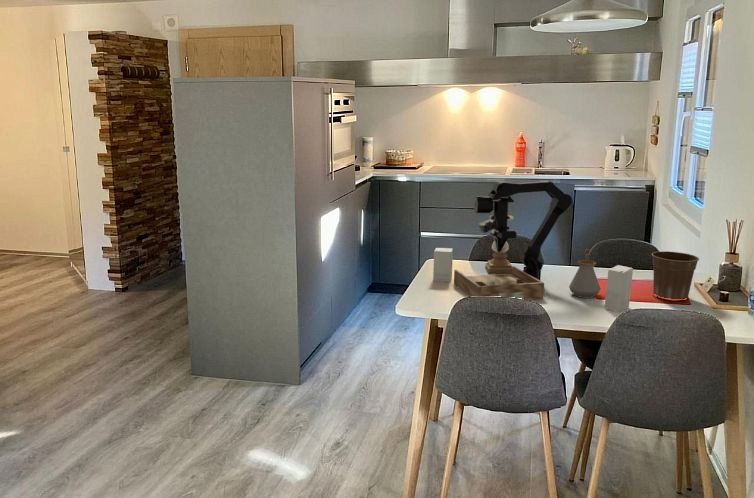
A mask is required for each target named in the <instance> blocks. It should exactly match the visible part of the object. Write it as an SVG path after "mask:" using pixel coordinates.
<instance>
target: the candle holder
mask: <svg viewBox="0 0 754 498" xmlns="http://www.w3.org/2000/svg"><path fill="white" fill-rule="evenodd" d="M492 215H493V214H491V215H489V219H491V216H492ZM508 216H510V219H508V222H509V221H513V220H514V218H515V217H514V216H513V215H509V214H508ZM507 241H508V240H507ZM507 241H506V243H505V244H504V246H503V248H502V250H501V252H498V251H497V248H496V244H495V240H494V241H493V242H492V244H491V250H492V251H494V252H493V253H492V257H493V258H492V259H490V260H486V261H487V262H486V263H485V264H484V268H485V270H486V272H487V273H488V274H494V275H496V274H512V263H511V262H510V261H509V260H508V259H507V257H508V254H507V251H508V250H509V249H510V245H509V243H508V242H507Z"/></svg>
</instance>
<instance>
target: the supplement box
mask: <svg viewBox="0 0 754 498" xmlns="http://www.w3.org/2000/svg"><path fill="white" fill-rule="evenodd" d="M453 252H454V248H451V247H450V248H449V247H435V248H434V251H433V268H432V269H433V271H432V272H433V273H432V275H433V276H432V281H433V282H443V283H445V282H447V283H451V281H452V278H453V256H454V255H453Z"/></svg>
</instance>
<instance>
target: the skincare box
mask: <svg viewBox="0 0 754 498" xmlns="http://www.w3.org/2000/svg"><path fill="white" fill-rule="evenodd" d="M633 272H634V268H632V267H630V266H629V267H628V266H623V265H620V264H617V265H615V266H614V267H611V268H609V269H608V271H607V281H606V282H607V283H606V290H605V301H604V309H606V310H608V309H609V311H613V312H618V313H621V312H622V311H624V310H626V309H628V308H629V307H630V303H631V302H630V300H631V292H632V291H631V290H632V284H633V283H632V282H633Z"/></svg>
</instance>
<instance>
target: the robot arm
mask: <svg viewBox="0 0 754 498" xmlns="http://www.w3.org/2000/svg"><path fill="white" fill-rule="evenodd" d="M535 192H536V193H538V192H546V194H547V195H548V196H549V197H550V198H551V201H550V203H549V209H548V212H547V214H546V215H545V217H544V218H543V220H542V222H541V224H540V226H539V227H538V228H537V230H536V232H535V234H534V235H533V237H532V239H531V240H530V242H528V243H526V242H524V243H523V244H522V247H521V248H520V249H519V250H518V252H519V253H518V258H519V260H520V262H522V264H523V270H522V271H524V272H526V273H527V274H529V275H531V276H533V277H535V278H536V279H538V280H540V281H541V276H542V275H541V274H542V269H543V267H544V265H543V264H542V262H540V260H539V257H540V256H541V249H542V246H543V245H544V242H545V241H546V239H547V238H548V236H549V235H550V233H551V231H552V230H553V227H554V226H555V224H556V222H558V220H559V219H560V216H562V215H563V214H564V213H565V212H566V211H567V210H569V208H570V207H571V205H572V204H573V199H572V196H571V195H570V194H568V193H565V192H563V191H562V190H561V189H560V188H559V187H557V186H556V185H555V184H554V182H552V181H550V180H543V181H541V180H540V181H528V182H527V181H526V182H525V181H524V182H523V181H522V182H512V181H504V180H497V181H496V182H495V183H494V185H493V187H492V189H491V191H490V192H489V193H488V194H487V196H481V195H479V196H478V195H476V196H475V200H474V203H473V209H474V213H475V214H491V213H493V214H491V215H492V216H491V215H490V216H491V219H490V218H489V219H487V220H483V221H481V222H479V223H478V227H479V230H480V232H481V233H483V234H485V233H488V232H489V231H491V232H490V233H489V235H490V236H491V237H492V238H493V239H494V241H495V244H496V248H497V251H498V252H501V250H502V248H503V246H504V244H505V243H506V241H508V240H509V239H516V238H517V232H516V231H515V230H513V229H512V228H511V229H510V226H509V225H508V222H509V221H508V219H510V216H511V215H510V216H508V215H509V203H514V202H515V200H514V199H513V198H512V197H511V196H515V195H516V194H524V193H535Z"/></svg>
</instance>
